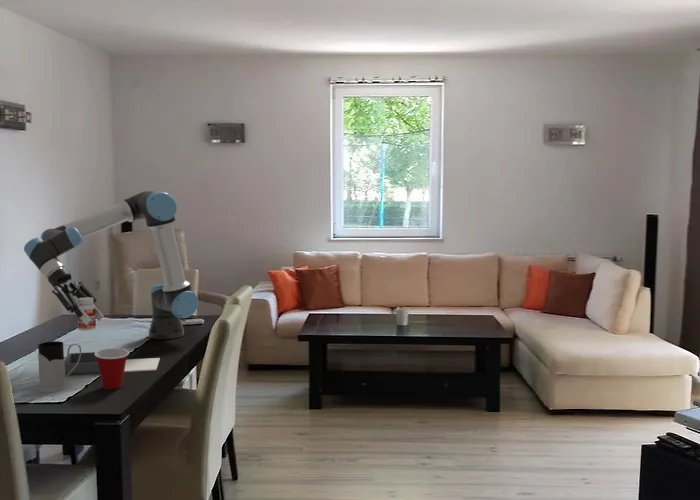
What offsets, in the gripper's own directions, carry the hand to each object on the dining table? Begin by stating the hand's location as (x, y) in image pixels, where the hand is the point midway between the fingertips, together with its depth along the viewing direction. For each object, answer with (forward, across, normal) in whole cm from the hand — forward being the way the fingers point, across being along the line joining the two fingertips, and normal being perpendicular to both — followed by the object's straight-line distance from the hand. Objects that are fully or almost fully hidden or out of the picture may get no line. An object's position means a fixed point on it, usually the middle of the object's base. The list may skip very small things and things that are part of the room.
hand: (95, 320), depth 247 cm
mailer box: (+15, -4, -10) cm, 19 cm away
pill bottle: (0, 0, -5) cm, 5 cm away
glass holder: (+15, +22, -11) cm, 28 cm away
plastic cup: (+27, +16, +1) cm, 32 cm away
